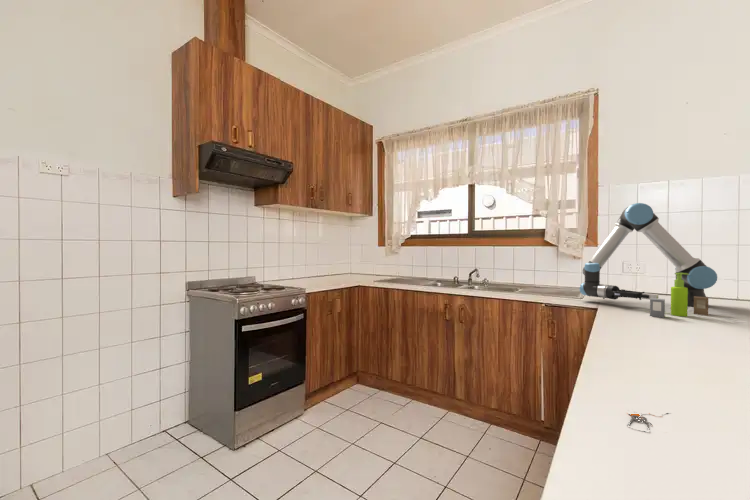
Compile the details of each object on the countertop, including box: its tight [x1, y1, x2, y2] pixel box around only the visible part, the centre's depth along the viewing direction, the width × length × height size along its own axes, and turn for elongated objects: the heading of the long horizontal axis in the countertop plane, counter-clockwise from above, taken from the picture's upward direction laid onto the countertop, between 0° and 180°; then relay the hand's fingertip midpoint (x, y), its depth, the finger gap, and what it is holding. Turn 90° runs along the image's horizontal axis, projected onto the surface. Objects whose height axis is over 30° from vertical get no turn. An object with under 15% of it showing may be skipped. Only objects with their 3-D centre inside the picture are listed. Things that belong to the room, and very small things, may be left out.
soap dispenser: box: [670, 272, 689, 317], centre depth 163 cm, size 6×7×20 cm
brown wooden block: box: [693, 296, 709, 316], centre depth 166 cm, size 5×5×8 cm
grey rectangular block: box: [649, 298, 666, 319], centre depth 161 cm, size 5×5×8 cm
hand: (657, 297), depth 171 cm, fingers closed
